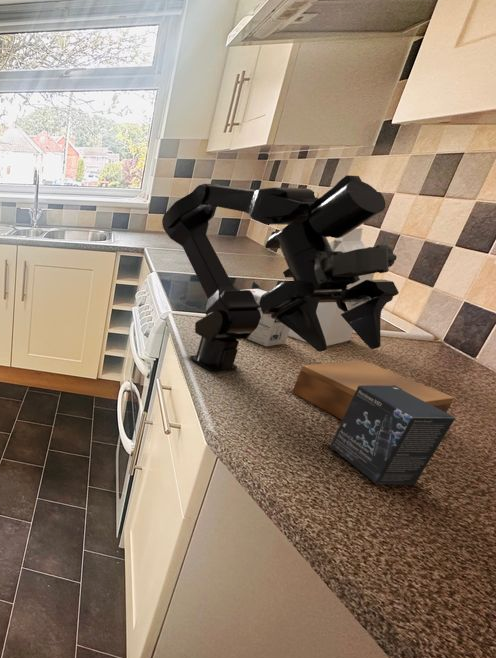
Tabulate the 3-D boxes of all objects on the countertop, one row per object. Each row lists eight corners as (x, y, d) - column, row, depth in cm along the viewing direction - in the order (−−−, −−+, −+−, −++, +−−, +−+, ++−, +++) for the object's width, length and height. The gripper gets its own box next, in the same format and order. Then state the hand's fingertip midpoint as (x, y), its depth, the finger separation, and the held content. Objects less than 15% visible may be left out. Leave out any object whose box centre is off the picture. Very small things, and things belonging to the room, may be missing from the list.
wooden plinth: (291, 392, 76) (302, 365, 74) (349, 385, 79) (361, 359, 77) (373, 437, 64) (389, 406, 61) (438, 427, 67) (455, 397, 65)
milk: (300, 324, 111) (338, 223, 100) (349, 340, 102) (397, 230, 91) (272, 330, 106) (308, 224, 95) (321, 347, 97) (368, 232, 86)
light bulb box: (285, 344, 98) (302, 300, 93) (266, 347, 95) (281, 302, 91) (244, 328, 107) (257, 287, 102) (225, 331, 104) (238, 289, 100)
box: (327, 447, 61) (357, 384, 56) (364, 448, 61) (397, 384, 57) (375, 485, 54) (413, 416, 49) (417, 485, 54) (458, 416, 50)
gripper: (302, 222, 56) (350, 327, 50) (413, 224, 59) (469, 323, 54) (242, 267, 66) (276, 359, 60) (339, 267, 69) (380, 354, 64)
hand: (349, 349), depth 59 cm, fingers open, 9 cm apart
